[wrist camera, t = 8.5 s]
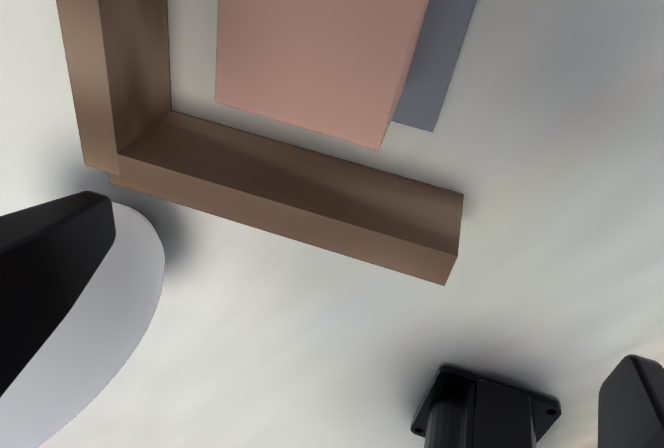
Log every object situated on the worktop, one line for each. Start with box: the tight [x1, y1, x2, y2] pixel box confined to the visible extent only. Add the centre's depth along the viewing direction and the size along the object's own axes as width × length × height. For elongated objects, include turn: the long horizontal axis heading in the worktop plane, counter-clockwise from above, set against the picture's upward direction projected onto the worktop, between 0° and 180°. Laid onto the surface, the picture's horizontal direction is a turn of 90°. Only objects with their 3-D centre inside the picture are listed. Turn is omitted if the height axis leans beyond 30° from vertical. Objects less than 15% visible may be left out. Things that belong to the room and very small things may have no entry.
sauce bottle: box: [0, 201, 165, 448], centre depth 20 cm, size 8×8×18 cm
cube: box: [215, 0, 429, 151], centre depth 15 cm, size 5×5×5 cm
